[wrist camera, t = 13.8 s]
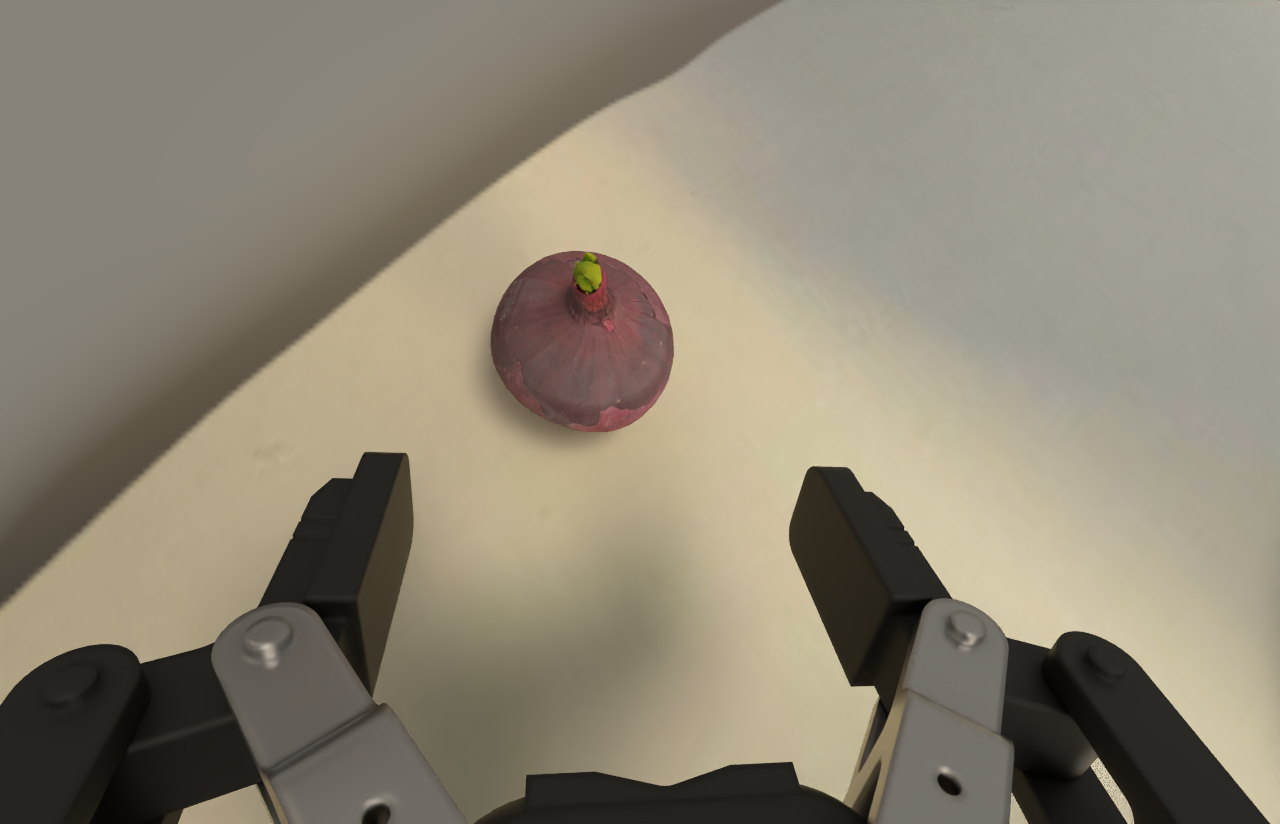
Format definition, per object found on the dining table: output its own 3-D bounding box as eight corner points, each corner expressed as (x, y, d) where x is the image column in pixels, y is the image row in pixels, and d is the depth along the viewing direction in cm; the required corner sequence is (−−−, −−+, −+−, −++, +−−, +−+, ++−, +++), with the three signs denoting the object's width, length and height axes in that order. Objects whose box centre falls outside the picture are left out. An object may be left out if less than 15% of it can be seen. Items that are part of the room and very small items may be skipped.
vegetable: (520, 283, 26) (516, 122, 16) (666, 324, 27) (745, 192, 17) (478, 425, 24) (446, 340, 15) (634, 465, 25) (700, 407, 16)
